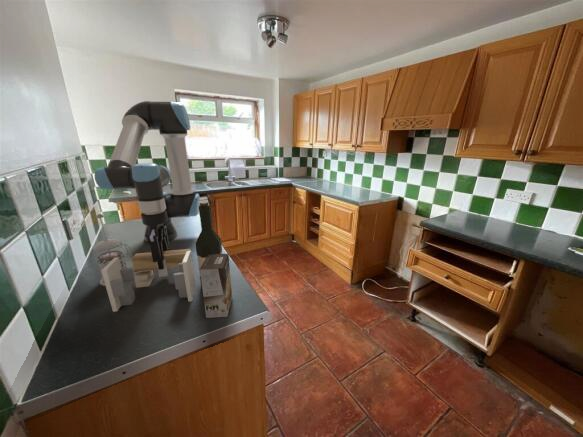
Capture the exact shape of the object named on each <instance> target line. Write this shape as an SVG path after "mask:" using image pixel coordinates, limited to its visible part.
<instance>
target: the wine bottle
mask: <svg viewBox="0 0 583 437" xmlns="http://www.w3.org/2000/svg"><path fill="white" fill-rule="evenodd" d="M211 212H212V210H211V205H210V203H209V202H208V201H200V205H199V213H198V214H199V219H200V226H201V231H200V233H199V235H198V237H197V239H196V241H195V243H194V244H195V251H196V258H197V259H196V260H197V265H198V273H199V280H200V287H201V288H202V282H201V274H200V268H201V266H202V264H203V263H204V261H205V259H206V258H207V256H208V255H214V254H224V253H223V244H222V238H221V237H220V235H218V233H217V232H216V231H215V230H214V229H213V222H212V213H211Z"/></svg>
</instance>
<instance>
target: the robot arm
mask: <svg viewBox="0 0 583 437" xmlns="http://www.w3.org/2000/svg"><path fill="white" fill-rule="evenodd" d="M190 122H191V121H190V118H189V114H188V111H187V109H186V107H185V105H184V104H183V103H181V102H175V101H149V100H145V101H141V102H138V103H136V104H134V105H133V106H131V107H130V108H129V109H128V110H127V111H126V112H125V113H124V115H123V117H122V119H121V125H122V127H121V128H122V129H121V130H120V134H119V136H118V138H117V141H116V144H115V147H114V149H113V152H112V154H111V157H110V159H109V161H108V164H107V166H103V167H98V168H97V169H95V171H94V181H95V183H96V185H97V187H98V188H100V189H102V190H111V191H112V190H115V191H116V190H129V189H135V193H136V198H137V204H136V205H138V206H139V210H140V213H141V214H140V217H141V222H142V224H143V225H145V228H144V229H145V231H144V235H143V237H144V241H145V242H147V243H148V244H149V249H150V252H151V254H152V258H153V262H156V263H157V267H158V269H157V271H158V277H159V278H161V277H168V276H169V271H168V270H171V269H172V268H167V266H166V261H165V259H164V255H163V251H171V247H170V246H171V245H170V242H169V241H171V240H173V239H175V238H177V237H178V231H177V229H176V227H175V226H174V224H173V222H172V219H174V218H190V217H196V216H197V215H198V214H200V213H199V205H200V202H201V201H200V200H201V198H200V197H201V196H200V194H199V193H196V189H195V188H193V187H192V180H191V175H190V174H191V173H190V168H189V167H190V166H189V159H188V155H187V154H188V153H187V146H186V145H187V144H186V140H185V138H186V137H187V136H188V131H190V130H191V123H190ZM152 130H154V131H157V130H158V131H159V135H160V136H161V137H162V138H163V139H164V143H165V144H164V145H165V149H166V155H167V161H168V162H167V163H168V167H169V168H167V167H166V166H164V165H161V164H156V163H154V162H149V163H148V162H147V163H146V162H145V163H137V159H138V157H139V153H140V150H141V146H142V143H143V139H144V136H145V135H146V134H148V132H149V131H152ZM170 181H171V184H172V189H171V191H170V192H169V193H170V194H168V193H167V192H166V191H164V189H163V188H164V187H165V186H167V185H168V184H169V183H170Z"/></svg>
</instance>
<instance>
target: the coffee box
mask: <svg viewBox="0 0 583 437" xmlns="http://www.w3.org/2000/svg"><path fill="white" fill-rule="evenodd" d="M230 268H231V267H230V254H229V253H223V254H214V255H208V256H207V258H206V259H205V261H204V263H203V264H202V266H201V268H200V274H201V281H200V283H201V282H202V287H201V288H202V297H203V304H204V311H205V318H206V319H209V318H210V319H212V318H226V317H228V316H229V311H230V308H231V303H232V301H233V290H232V289H233V288H232V280H231V278H232V277H231V269H230ZM200 274H199V275H200Z"/></svg>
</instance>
